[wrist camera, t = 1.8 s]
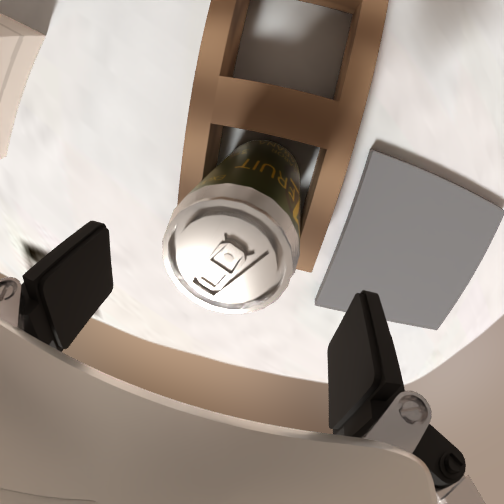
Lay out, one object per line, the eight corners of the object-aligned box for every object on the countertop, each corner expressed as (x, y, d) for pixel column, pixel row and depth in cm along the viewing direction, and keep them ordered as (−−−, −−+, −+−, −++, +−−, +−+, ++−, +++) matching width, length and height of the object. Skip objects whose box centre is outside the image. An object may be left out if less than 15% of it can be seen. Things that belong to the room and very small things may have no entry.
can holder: (235, -24, 13) (223, -43, 10) (376, 5, 13) (390, -10, 10) (190, 218, 23) (175, 238, 21) (310, 248, 23) (311, 272, 20)
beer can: (270, 220, 23) (242, 336, 12) (213, 179, 22) (137, 267, 11) (315, 169, 20) (331, 256, 10) (254, 123, 19) (200, 160, 9)
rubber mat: (370, 148, 18) (372, 150, 18) (500, 207, 18) (505, 211, 17) (314, 299, 26) (314, 305, 25) (434, 324, 25) (437, 330, 25)
